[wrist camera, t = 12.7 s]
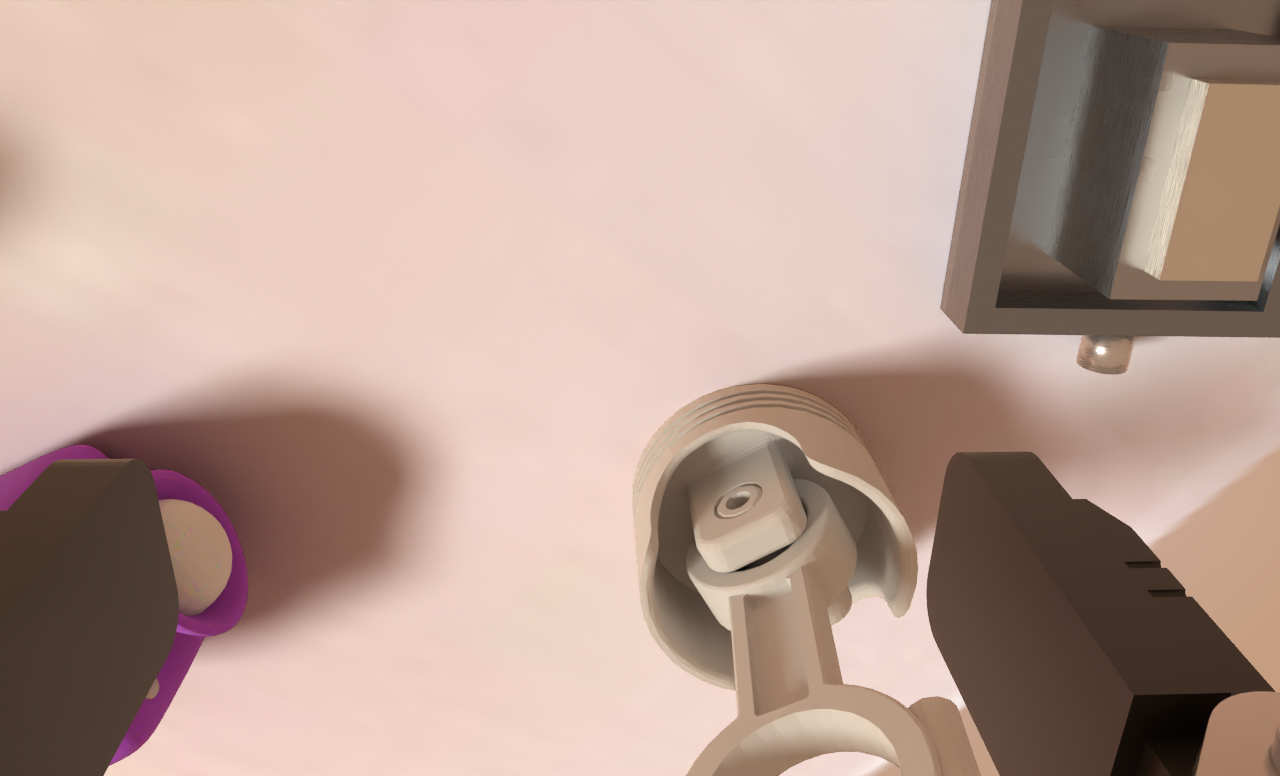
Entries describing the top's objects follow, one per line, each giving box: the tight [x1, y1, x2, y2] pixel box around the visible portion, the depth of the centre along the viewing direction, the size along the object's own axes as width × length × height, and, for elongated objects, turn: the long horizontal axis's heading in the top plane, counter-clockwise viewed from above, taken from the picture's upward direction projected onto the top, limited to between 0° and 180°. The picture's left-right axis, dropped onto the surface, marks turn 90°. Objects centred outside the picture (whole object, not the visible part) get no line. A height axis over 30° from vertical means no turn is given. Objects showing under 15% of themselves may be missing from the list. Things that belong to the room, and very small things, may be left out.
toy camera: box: [0, 445, 248, 766], centre depth 37 cm, size 11×14×10 cm
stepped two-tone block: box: [1047, 26, 1280, 301], centre depth 34 cm, size 8×5×6 cm, turn 178°
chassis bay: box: [941, 0, 1280, 374], centre depth 36 cm, size 16×12×3 cm
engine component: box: [633, 384, 981, 776], centre depth 33 cm, size 11×20×10 cm
